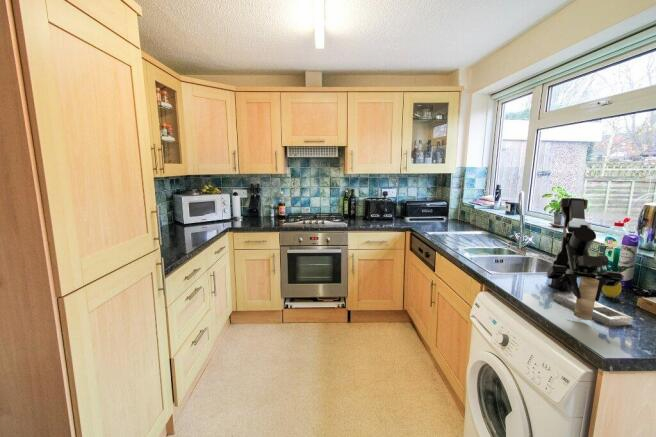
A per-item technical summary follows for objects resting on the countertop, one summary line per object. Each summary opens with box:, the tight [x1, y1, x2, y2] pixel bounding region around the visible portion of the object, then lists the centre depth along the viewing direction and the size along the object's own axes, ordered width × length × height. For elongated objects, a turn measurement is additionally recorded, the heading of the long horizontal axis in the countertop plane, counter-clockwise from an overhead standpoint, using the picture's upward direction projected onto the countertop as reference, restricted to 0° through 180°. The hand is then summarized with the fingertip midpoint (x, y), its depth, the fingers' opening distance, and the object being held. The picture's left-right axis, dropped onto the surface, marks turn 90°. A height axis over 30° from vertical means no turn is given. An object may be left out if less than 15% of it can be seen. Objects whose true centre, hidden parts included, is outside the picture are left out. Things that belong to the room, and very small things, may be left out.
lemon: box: [601, 282, 623, 298], centre depth 116 cm, size 6×6×8 cm
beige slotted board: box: [552, 291, 634, 327], centre depth 105 cm, size 20×9×2 cm, turn 10°
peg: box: [573, 277, 599, 321], centre depth 95 cm, size 4×4×13 cm
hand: (588, 299), depth 94 cm, fingers closed on peg, 4 cm apart
